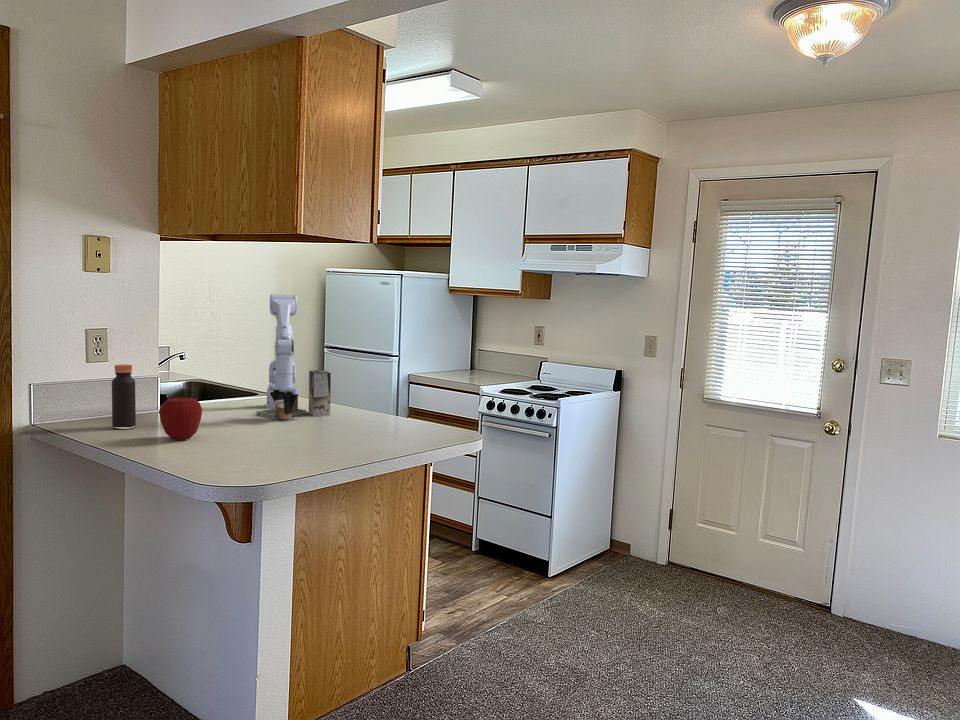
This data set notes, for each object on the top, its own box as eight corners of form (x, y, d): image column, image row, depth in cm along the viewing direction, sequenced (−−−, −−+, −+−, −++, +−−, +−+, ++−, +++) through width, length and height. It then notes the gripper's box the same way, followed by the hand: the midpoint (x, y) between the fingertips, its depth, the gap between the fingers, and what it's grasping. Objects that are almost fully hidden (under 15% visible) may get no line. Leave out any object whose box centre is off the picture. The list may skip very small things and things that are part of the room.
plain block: (281, 412, 267) (282, 396, 267) (290, 411, 271) (290, 395, 270) (289, 414, 265) (289, 397, 264) (297, 412, 268) (297, 396, 268)
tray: (256, 415, 262) (256, 411, 262) (288, 411, 273) (288, 406, 273) (274, 419, 256) (274, 414, 256) (306, 414, 268) (306, 410, 267)
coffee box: (330, 416, 265) (331, 372, 263) (313, 417, 262) (313, 373, 261) (325, 412, 273) (325, 369, 272) (307, 413, 271) (308, 370, 269)
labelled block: (274, 417, 254) (274, 400, 253) (284, 416, 257) (284, 399, 256) (282, 419, 251) (282, 402, 251) (291, 417, 255) (291, 400, 254)
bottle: (110, 429, 229) (109, 366, 227) (114, 425, 236) (113, 364, 234) (134, 429, 231) (133, 366, 229) (137, 425, 238) (136, 364, 236)
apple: (203, 434, 227) (203, 391, 226) (201, 442, 216) (201, 397, 215) (161, 435, 224) (160, 392, 222) (157, 443, 213) (156, 398, 211)
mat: (269, 420, 254) (269, 419, 254) (285, 418, 259) (285, 416, 259) (282, 423, 250) (282, 422, 250) (298, 420, 255) (298, 419, 255)
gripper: (261, 372, 254) (261, 411, 255) (288, 376, 245) (288, 416, 247) (277, 371, 260) (277, 409, 261) (305, 375, 251) (304, 414, 252)
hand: (283, 412), depth 254 cm, fingers closed on labelled block, 4 cm apart
